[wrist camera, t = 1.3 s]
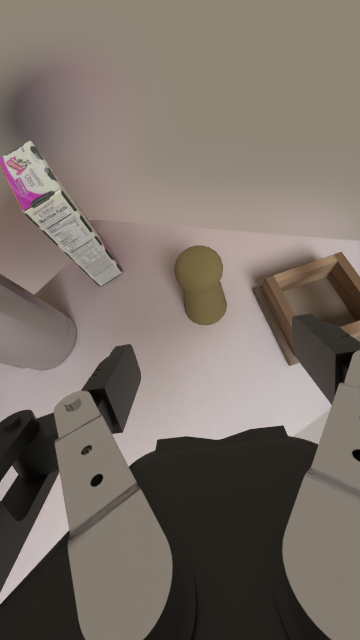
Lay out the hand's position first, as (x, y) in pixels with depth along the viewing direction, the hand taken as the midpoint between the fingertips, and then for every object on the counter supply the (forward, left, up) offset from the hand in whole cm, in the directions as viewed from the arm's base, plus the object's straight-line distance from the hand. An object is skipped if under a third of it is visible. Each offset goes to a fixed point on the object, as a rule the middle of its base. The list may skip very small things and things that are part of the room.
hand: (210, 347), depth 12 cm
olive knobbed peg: (+2, +11, -20) cm, 23 cm away
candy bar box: (-13, +26, -20) cm, 35 cm away
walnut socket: (+14, +5, -19) cm, 25 cm away
